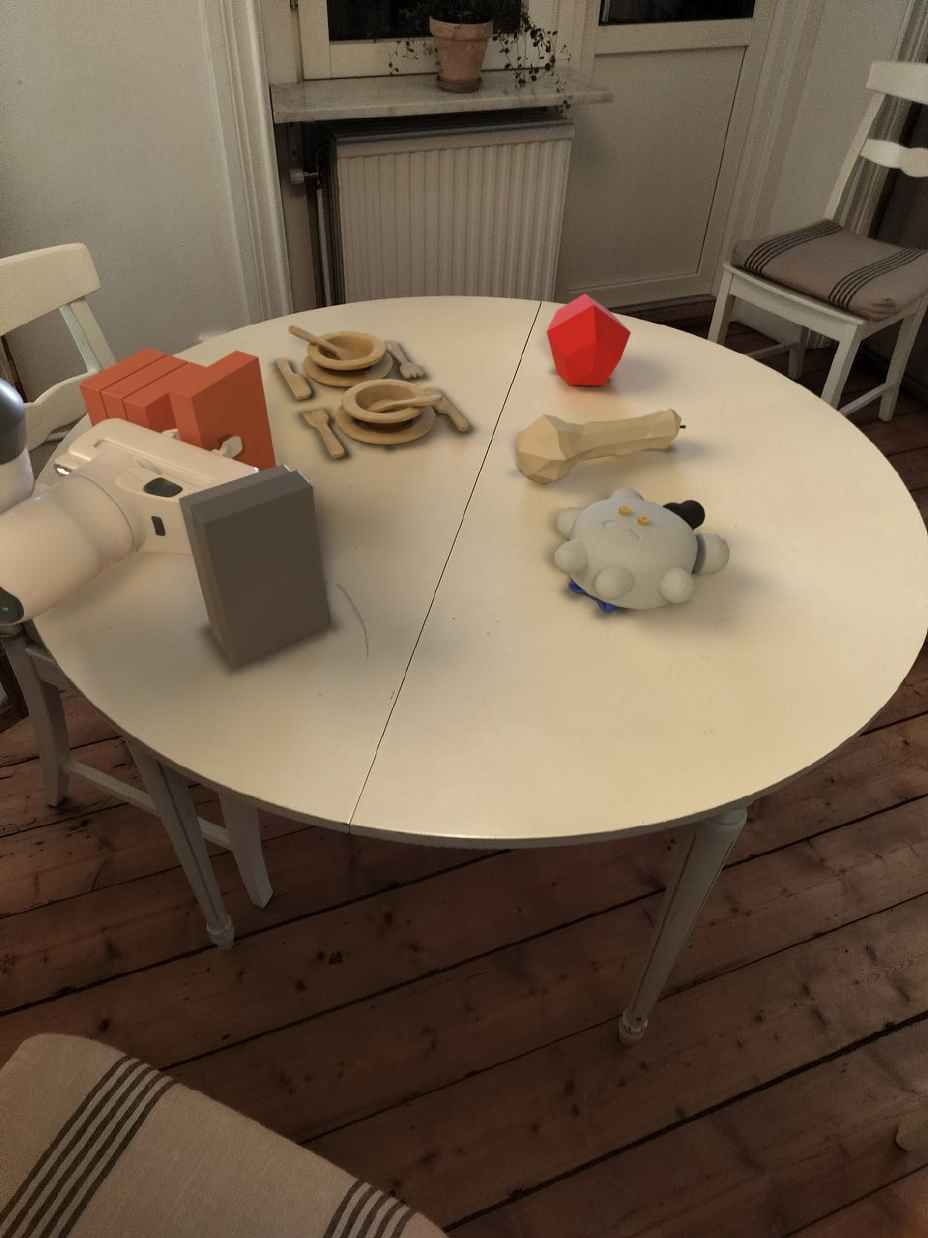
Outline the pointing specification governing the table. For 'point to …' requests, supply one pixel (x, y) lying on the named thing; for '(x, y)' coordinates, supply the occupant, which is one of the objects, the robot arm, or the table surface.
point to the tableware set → (367, 390)
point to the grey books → (258, 561)
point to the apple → (586, 342)
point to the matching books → (137, 390)
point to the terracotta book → (226, 408)
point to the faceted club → (588, 441)
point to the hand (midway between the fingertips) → (220, 435)
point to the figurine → (637, 551)
